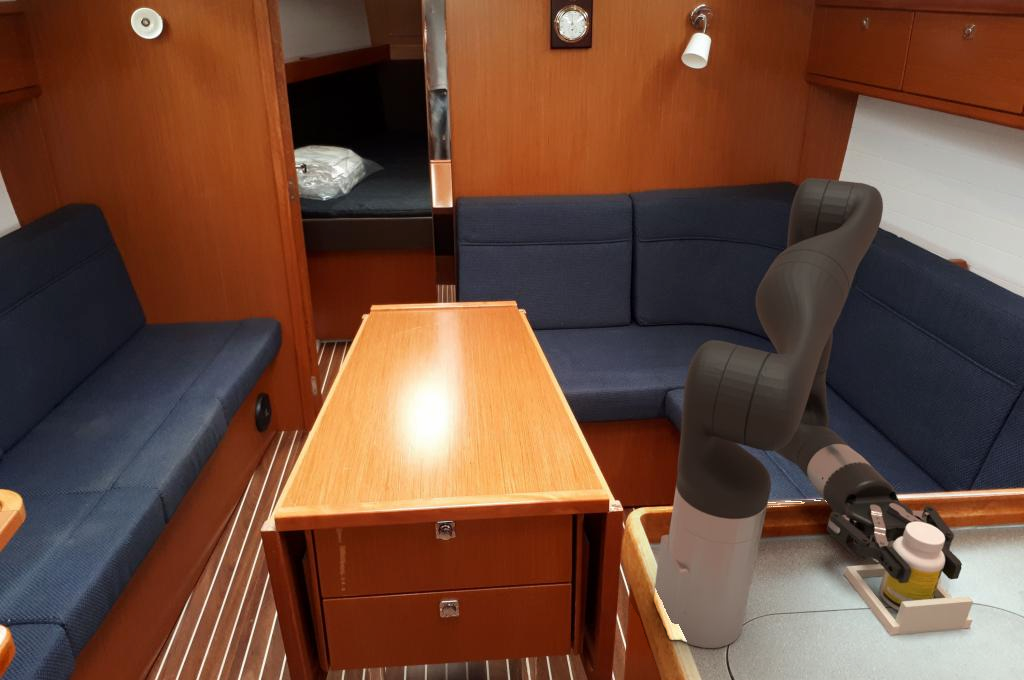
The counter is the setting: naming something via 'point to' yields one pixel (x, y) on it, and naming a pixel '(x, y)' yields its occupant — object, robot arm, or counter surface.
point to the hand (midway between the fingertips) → (931, 574)
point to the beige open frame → (913, 606)
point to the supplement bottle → (916, 565)
